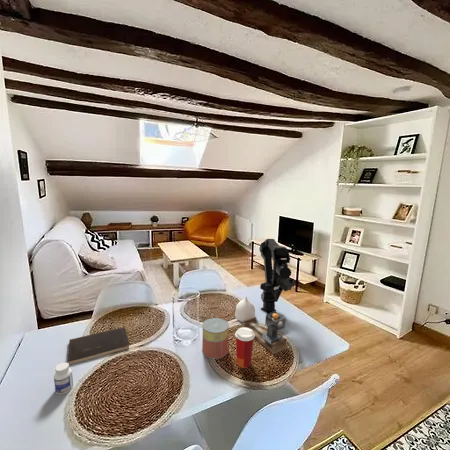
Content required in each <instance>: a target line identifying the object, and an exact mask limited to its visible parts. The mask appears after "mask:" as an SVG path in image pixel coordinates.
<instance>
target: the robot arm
mask: <svg viewBox="0 0 450 450" xmlns="http://www.w3.org/2000/svg"><path fill="white" fill-rule="evenodd" d="M259 252H260V256H261V258H262V259H263V265H264V279H265V280H264V281H265V282H262V283H261V284H260V287H259V288H260V290H262V292H261V294H260V299H261V301H262V302H263V303H262V304H263V305H262V307H261V308H260V310H262V311H264V312H265V313H266V315H269V314H272V313H275V312H277V309H276V304H275V303H276V302H277V303H278V301H279V298H280V297H281V294H282V293H283V291H285V292H287V291H291V290H292V289H293V287H295V285H296V281H295V279H294V278H290V277H291V275H292V270H291V268H290V267H289V266H288V264H290V262H291V256H290V252H289V250H288V248H287V247H286V246H284V245H279V243H277V241H276V240H275V238H267V239H265V240H264V241H263V242H261V243H260V245H259Z"/></svg>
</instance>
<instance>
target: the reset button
mask: <svg viewBox="0 0 450 450" xmlns="http://www.w3.org/2000/svg"><path fill="white" fill-rule="evenodd" d="M272 313H273V317H272V318H273V319H275V320H277V319H278V317H279V315H280V314H279V313H278V312H276V313H275V312H272ZM277 313H278V314H279V315H278V314H277Z"/></svg>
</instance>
